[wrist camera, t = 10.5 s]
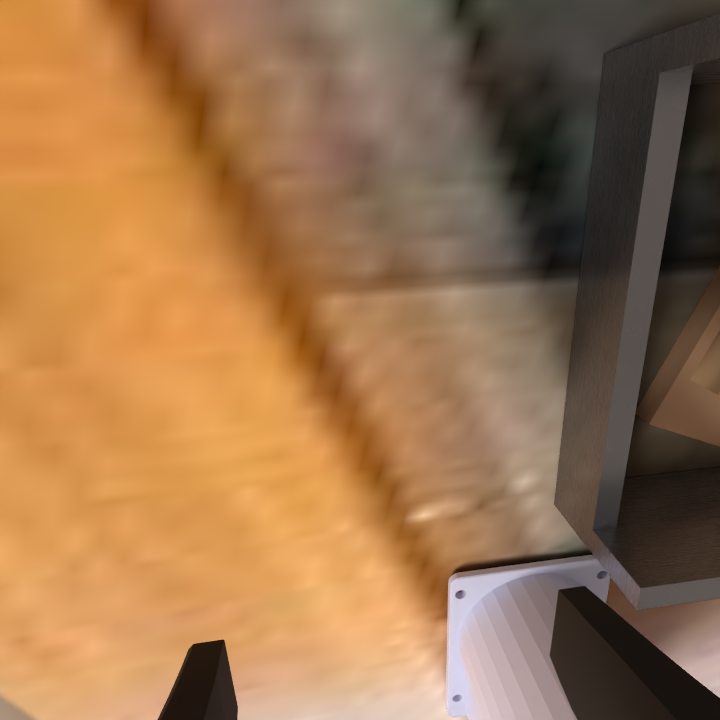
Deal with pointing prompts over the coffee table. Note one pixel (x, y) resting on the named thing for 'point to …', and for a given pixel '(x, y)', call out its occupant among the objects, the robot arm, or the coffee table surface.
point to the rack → (635, 332)
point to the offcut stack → (690, 376)
